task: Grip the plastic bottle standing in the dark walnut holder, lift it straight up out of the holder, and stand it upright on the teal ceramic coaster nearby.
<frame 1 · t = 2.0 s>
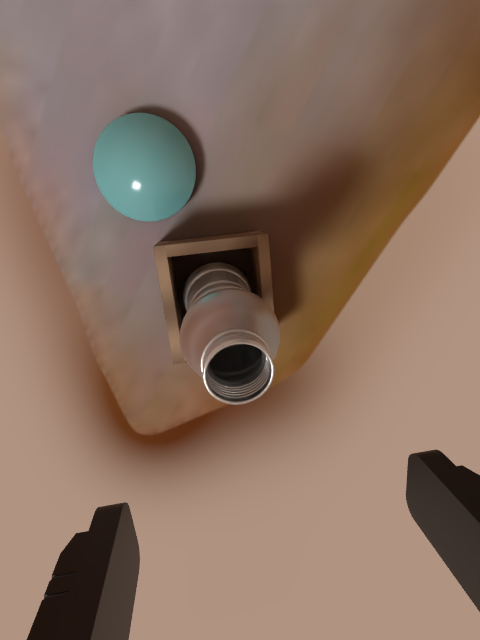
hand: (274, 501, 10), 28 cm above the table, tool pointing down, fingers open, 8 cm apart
teal coaster: (147, 170, 33), on the table
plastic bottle: (215, 289, 37), resting in walnut holder
walnut holder: (215, 289, 37), on the table
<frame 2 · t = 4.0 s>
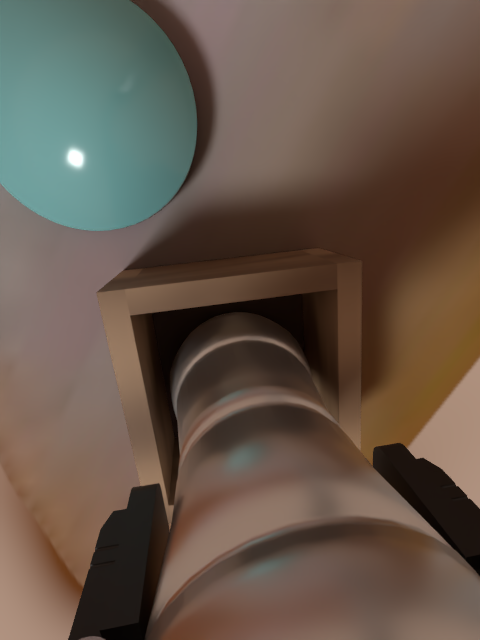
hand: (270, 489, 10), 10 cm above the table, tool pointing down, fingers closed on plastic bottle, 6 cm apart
teal coaster: (93, 123, 15), on the table
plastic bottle: (234, 356, 20), resting in walnut holder, touching gripper
walnut holder: (234, 357, 20), on the table
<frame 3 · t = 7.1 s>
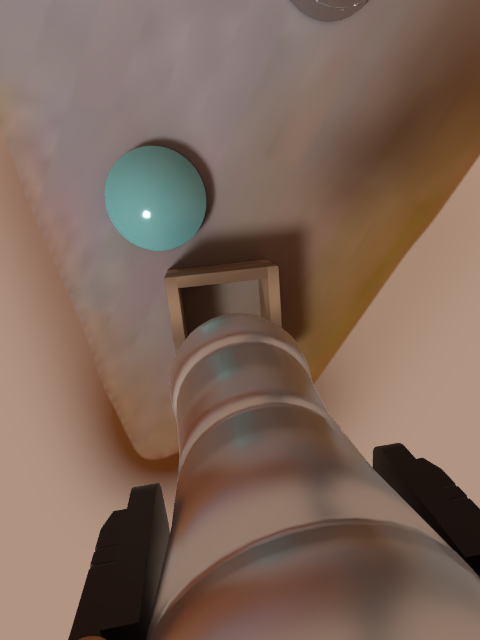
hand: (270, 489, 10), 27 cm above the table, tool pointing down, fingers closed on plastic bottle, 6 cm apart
teal coaster: (157, 200, 33), on the table
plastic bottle: (233, 357, 20), point 17 cm above the table, touching gripper
walnut holder: (223, 316, 37), on the table
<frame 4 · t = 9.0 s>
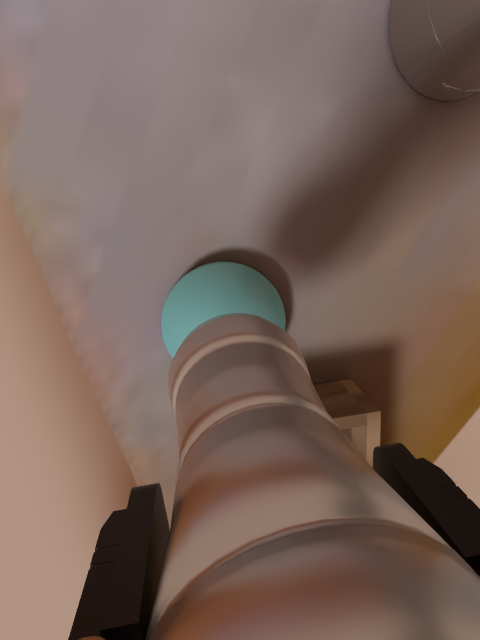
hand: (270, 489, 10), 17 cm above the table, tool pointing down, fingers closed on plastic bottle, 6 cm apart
teal coaster: (223, 320, 26), on the table
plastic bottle: (232, 357, 20), point 7 cm above the table, touching gripper
walnut holder: (295, 443, 31), on the table
when the fingers open (12 cm above the table, at t = 10.6 s): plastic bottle drops 1 cm, resting on teal coaster.
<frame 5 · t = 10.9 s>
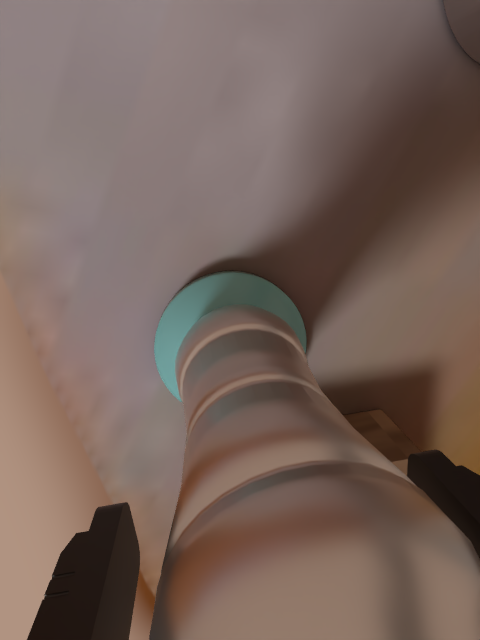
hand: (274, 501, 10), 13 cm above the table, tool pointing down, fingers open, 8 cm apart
teal coaster: (230, 342, 22), on the table
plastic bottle: (234, 347, 21), point 1 cm above the table, touching teal coaster
walnut holder: (314, 484, 26), on the table
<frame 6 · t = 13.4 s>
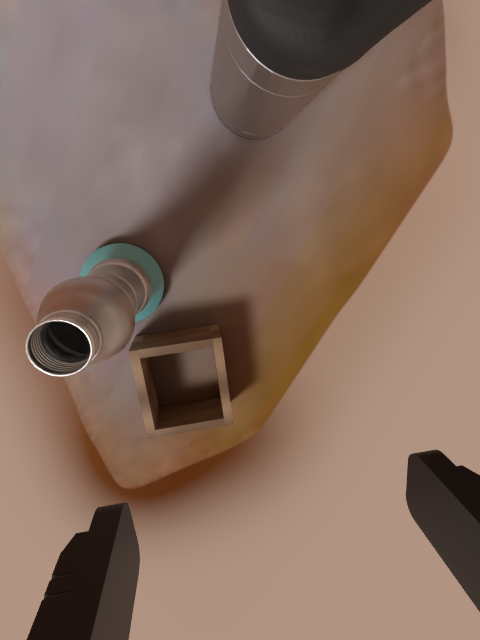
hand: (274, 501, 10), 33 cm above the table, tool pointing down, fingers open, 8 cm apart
teal coaster: (124, 282, 40), on the table
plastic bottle: (124, 283, 39), point 1 cm above the table, touching teal coaster
walnut holder: (184, 371, 44), on the table
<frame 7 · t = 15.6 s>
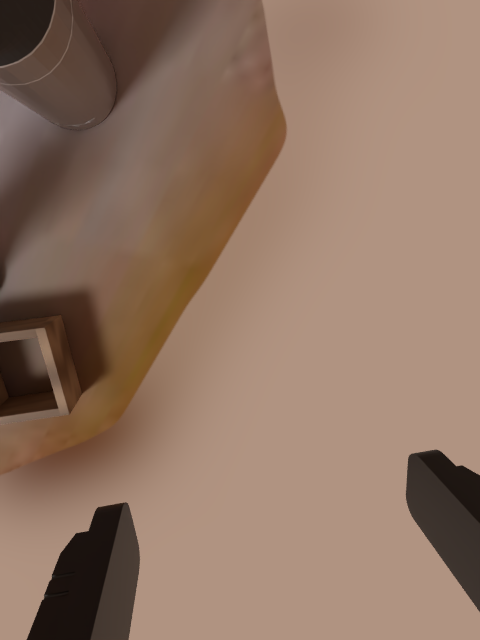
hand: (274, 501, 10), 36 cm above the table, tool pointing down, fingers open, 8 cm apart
walnut holder: (31, 361, 44), on the table
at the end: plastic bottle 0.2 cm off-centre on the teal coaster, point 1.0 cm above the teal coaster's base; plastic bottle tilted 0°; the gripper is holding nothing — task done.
